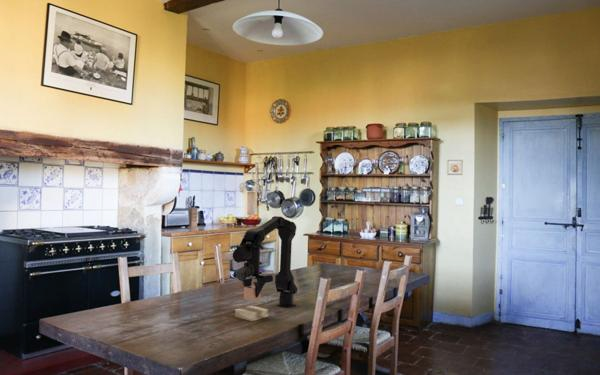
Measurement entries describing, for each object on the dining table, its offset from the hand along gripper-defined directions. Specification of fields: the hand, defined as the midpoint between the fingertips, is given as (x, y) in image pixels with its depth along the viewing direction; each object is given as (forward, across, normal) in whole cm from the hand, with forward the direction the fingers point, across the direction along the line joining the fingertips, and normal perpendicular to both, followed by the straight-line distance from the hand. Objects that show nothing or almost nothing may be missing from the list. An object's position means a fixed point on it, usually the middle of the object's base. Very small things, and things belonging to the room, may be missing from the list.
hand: (252, 296), depth 206 cm
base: (+9, 0, 0) cm, 9 cm away
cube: (+1, 0, 0) cm, 1 cm away
